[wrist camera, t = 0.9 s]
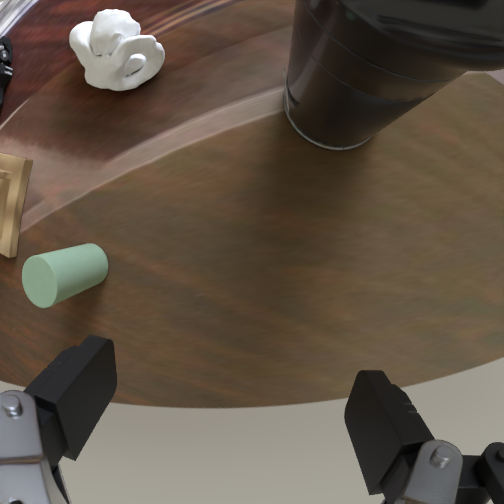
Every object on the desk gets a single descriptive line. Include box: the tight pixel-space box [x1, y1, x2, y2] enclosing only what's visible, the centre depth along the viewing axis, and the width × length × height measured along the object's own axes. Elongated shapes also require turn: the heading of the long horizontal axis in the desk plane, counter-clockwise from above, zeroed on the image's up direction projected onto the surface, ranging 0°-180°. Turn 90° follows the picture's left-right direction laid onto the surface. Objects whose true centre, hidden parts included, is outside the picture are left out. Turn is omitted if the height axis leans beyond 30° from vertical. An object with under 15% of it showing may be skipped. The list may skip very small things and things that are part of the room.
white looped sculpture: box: [69, 9, 165, 91], centre depth 24 cm, size 9×12×8 cm
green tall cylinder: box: [22, 243, 108, 308], centre depth 26 cm, size 4×4×9 cm
